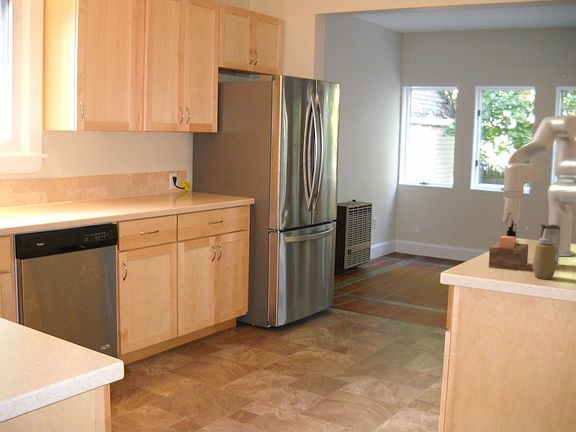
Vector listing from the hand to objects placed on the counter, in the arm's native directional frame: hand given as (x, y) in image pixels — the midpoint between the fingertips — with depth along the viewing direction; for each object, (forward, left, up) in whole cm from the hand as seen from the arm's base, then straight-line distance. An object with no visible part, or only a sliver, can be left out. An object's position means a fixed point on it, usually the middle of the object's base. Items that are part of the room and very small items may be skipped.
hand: (511, 240), depth 289 cm
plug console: (+4, 0, -10) cm, 10 cm away
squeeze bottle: (+22, +16, -10) cm, 29 cm away
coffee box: (-5, +14, -10) cm, 18 cm away
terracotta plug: (+8, 0, -3) cm, 9 cm away
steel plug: (0, 0, -6) cm, 6 cm away
